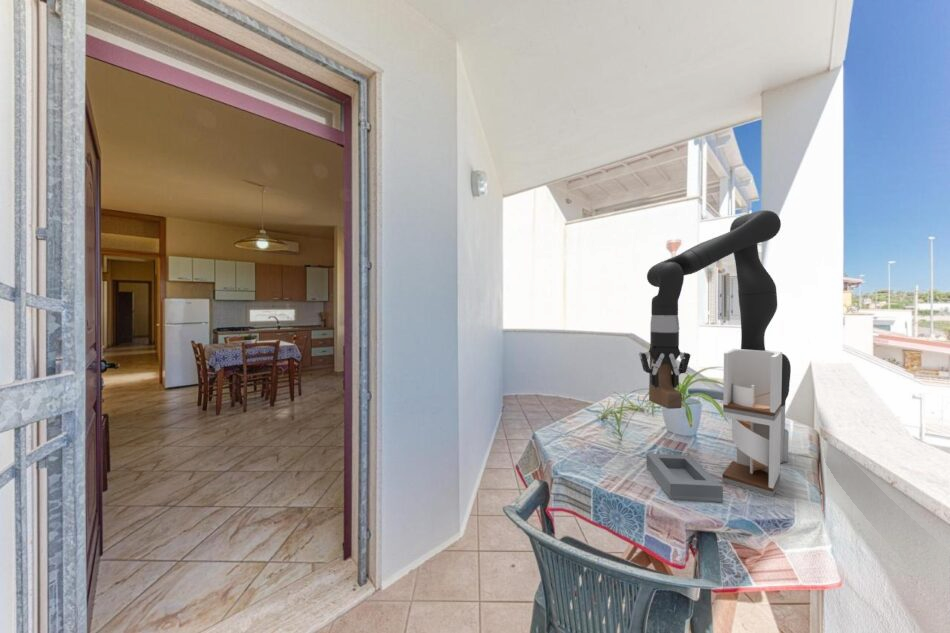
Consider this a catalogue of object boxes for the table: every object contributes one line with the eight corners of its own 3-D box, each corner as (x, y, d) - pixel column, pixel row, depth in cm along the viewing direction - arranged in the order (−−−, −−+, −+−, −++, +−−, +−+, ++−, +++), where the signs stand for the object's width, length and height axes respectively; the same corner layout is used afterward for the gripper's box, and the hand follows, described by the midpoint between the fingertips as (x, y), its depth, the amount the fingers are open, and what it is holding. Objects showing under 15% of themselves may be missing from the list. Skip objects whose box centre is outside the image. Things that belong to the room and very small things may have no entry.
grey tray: (689, 468, 105) (690, 455, 104) (722, 502, 87) (722, 486, 87) (646, 466, 106) (646, 453, 106) (670, 499, 89) (670, 483, 89)
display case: (732, 467, 105) (734, 348, 103) (779, 480, 97) (782, 352, 96) (722, 481, 97) (723, 353, 96) (772, 496, 89) (775, 357, 88)
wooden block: (682, 408, 104) (683, 346, 103) (667, 409, 103) (669, 346, 102) (661, 400, 112) (662, 343, 112) (648, 400, 112) (649, 343, 111)
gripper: (685, 329, 109) (684, 384, 110) (635, 329, 112) (635, 383, 112) (696, 331, 102) (695, 390, 103) (642, 331, 104) (642, 389, 105)
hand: (664, 386), depth 107 cm, fingers closed on wooden block, 4 cm apart
